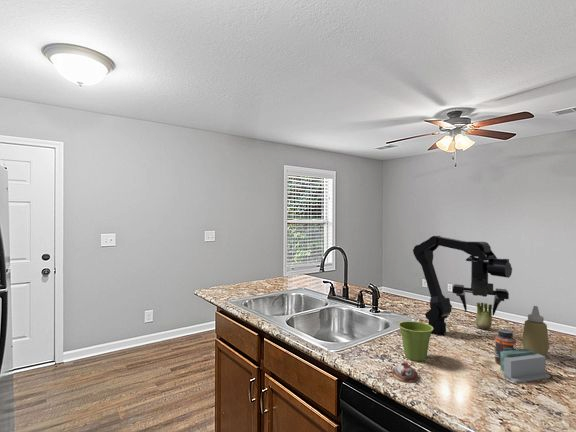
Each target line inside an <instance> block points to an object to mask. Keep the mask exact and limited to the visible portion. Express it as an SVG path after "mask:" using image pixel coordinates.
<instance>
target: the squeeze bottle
mask: <svg viewBox="0 0 576 432" xmlns="http://www.w3.org/2000/svg"><path fill="white" fill-rule="evenodd" d="M538 306H539V305H538ZM538 306H537V305H533V306H532V311H531V313H530V314H528V315H527V320H525V321H524V324H523V331H522V332H523V333H522V340H521V344H522V346H523V349H529V350H531V351H534V354H540V355H542V356H545V357H546V356H547V354H548V352H549V350H550V341H549V333H548V325H547V324H546V322H544V317H543V316H542V315H541V314H540V310H539V307H538Z"/></svg>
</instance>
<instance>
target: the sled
mask: <svg viewBox="0 0 576 432" xmlns="http://www.w3.org/2000/svg"><path fill="white" fill-rule="evenodd" d="M532 354H534V351H531V350H529V349H524V348H521V349H516V350H510V351H502V352H501V364H500V365H499V364H497V363H496V362H495V356H490V357H484V356H482V355H478V362H479V363H481V364H483V365H485V366H487V367H489V368H490V369H493V370H495V371H496V372H499V373H501V374H502V375H504V358H507V357H515V356H524V355H532Z"/></svg>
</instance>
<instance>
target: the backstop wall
mask: <svg viewBox="0 0 576 432" xmlns="http://www.w3.org/2000/svg"><path fill="white" fill-rule="evenodd" d="M503 377H504V378H505V379H508V380H510V381H511V382H513V383H515V384H519V383H525V382H532V381H539V380H546V379H551V374H549V373H546V356H542V355H540V354H532V355H524V356H515V357H507V358H504V374H503Z"/></svg>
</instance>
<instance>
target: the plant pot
mask: <svg viewBox="0 0 576 432" xmlns="http://www.w3.org/2000/svg"><path fill="white" fill-rule="evenodd" d="M428 324H429V323H425V322H420V321H412V320H409V321H408V320H407V321H400V322H398V325H397V326H398V327H399V330H400V334H401V339H402V346H403V353H404V356H405V357H406V358H407V359H408V360H411V361H414V362H416V361H417V362H419V361H422V362H423V361H426V360H427V359H428V357H427V356H428V352H429V351H428V350H429V345H430V339H431V336H432V334H431V332H432V331H433V327H432V326H430V325H428Z"/></svg>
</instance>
